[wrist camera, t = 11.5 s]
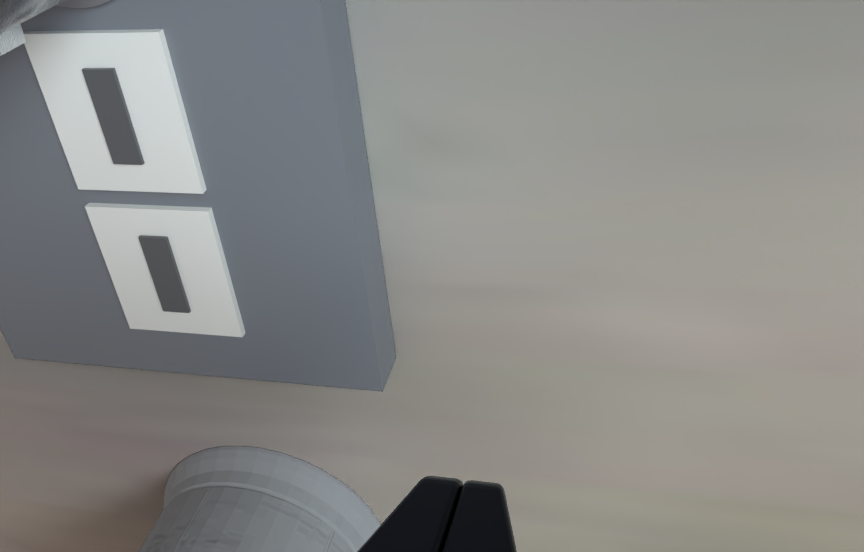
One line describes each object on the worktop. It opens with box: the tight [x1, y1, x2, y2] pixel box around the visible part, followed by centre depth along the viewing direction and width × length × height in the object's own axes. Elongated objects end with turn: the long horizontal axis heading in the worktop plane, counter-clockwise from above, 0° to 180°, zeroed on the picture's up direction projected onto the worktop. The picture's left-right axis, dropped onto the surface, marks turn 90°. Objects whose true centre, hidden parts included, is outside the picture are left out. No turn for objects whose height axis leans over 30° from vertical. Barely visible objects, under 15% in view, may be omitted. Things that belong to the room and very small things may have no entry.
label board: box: [0, 0, 396, 392], centre depth 20 cm, size 16×12×2 cm
